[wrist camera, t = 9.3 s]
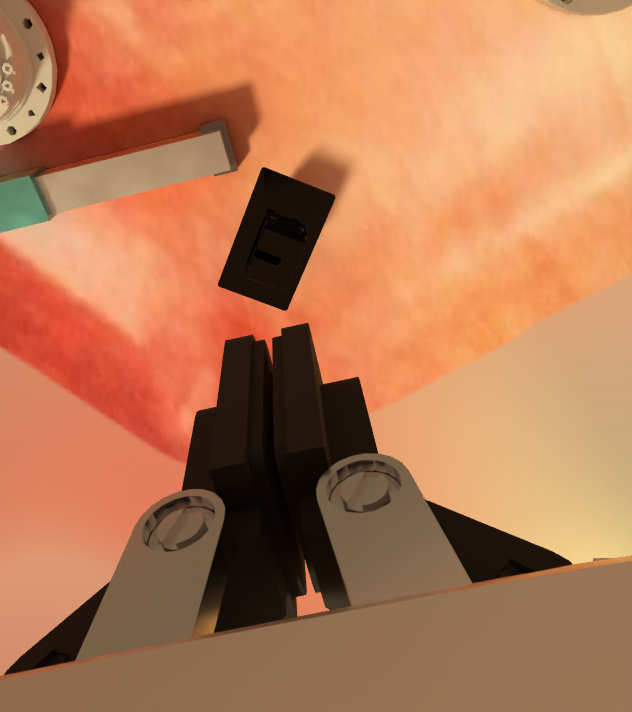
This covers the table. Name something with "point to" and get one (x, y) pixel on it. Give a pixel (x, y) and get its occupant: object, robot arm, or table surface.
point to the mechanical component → (24, 70)
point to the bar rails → (114, 175)
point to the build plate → (275, 239)
